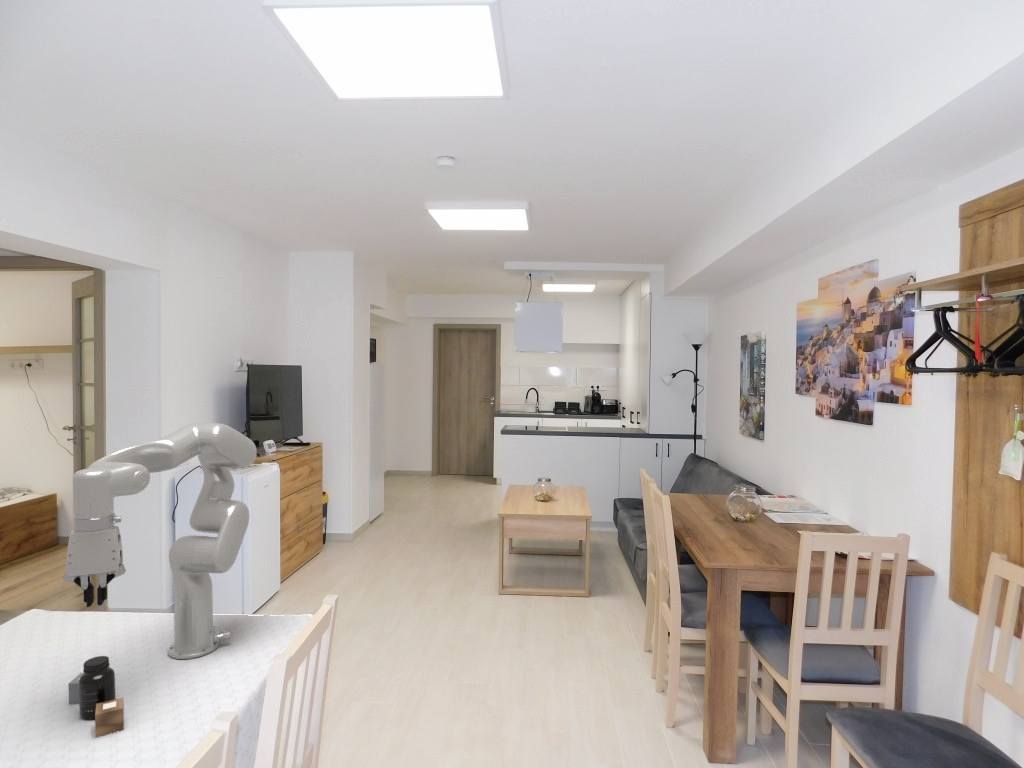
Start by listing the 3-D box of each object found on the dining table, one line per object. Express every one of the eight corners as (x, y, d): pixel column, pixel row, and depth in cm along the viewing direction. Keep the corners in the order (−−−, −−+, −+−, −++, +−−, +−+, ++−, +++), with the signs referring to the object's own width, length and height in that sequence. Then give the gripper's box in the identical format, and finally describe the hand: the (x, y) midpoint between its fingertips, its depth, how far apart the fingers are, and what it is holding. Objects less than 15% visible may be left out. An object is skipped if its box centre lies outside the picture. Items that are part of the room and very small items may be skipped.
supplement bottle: (91, 704, 141) (90, 653, 141) (121, 703, 142) (121, 652, 141) (72, 721, 134) (71, 668, 134) (104, 720, 135) (103, 667, 134)
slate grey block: (103, 691, 147) (103, 670, 146) (91, 703, 142) (91, 681, 141) (81, 693, 146) (80, 672, 146) (68, 704, 141) (68, 683, 141)
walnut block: (123, 719, 135) (123, 696, 135) (123, 730, 131) (123, 707, 131) (96, 726, 133) (96, 703, 133) (95, 738, 128) (95, 714, 128)
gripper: (137, 516, 143) (138, 593, 143) (57, 522, 137) (59, 602, 137) (130, 524, 136) (132, 605, 136) (46, 531, 130) (48, 615, 131)
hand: (95, 603), depth 137 cm, fingers closed
